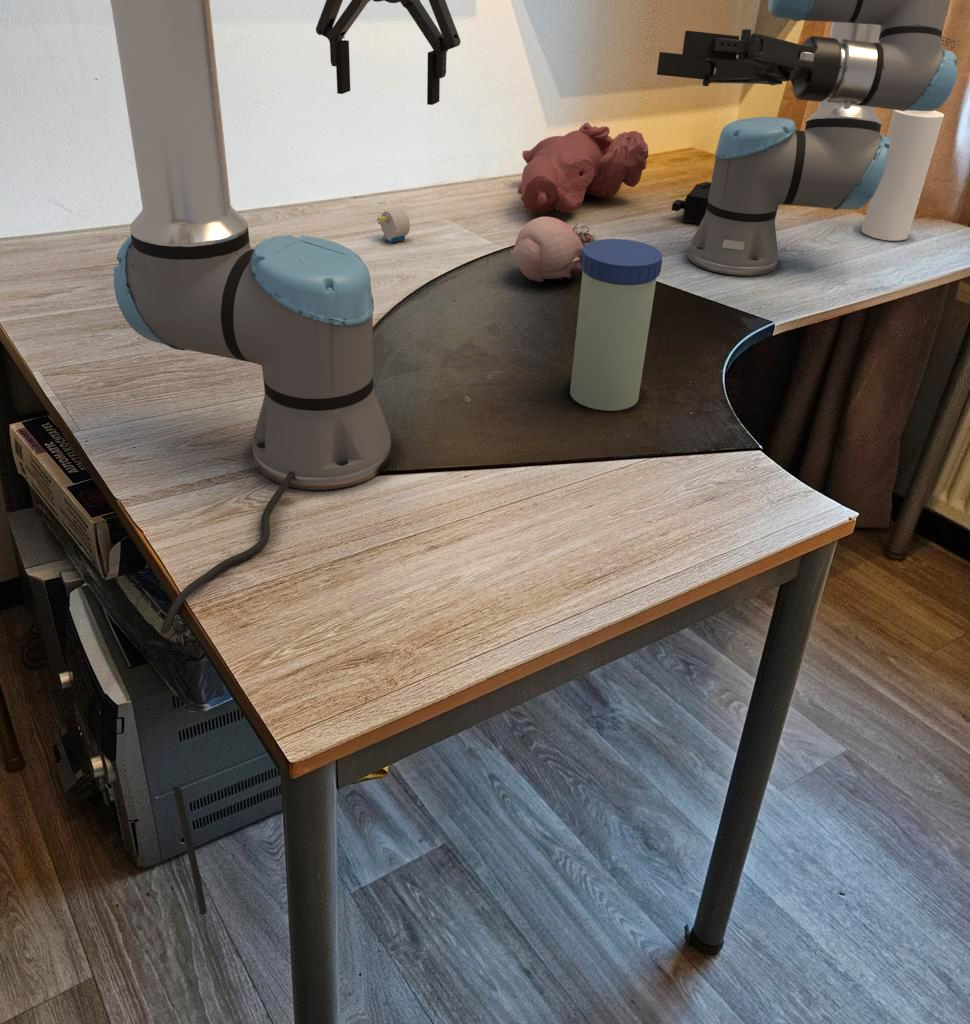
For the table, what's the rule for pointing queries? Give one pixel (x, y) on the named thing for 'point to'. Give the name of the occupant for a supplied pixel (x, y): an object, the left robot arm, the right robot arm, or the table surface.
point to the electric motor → (394, 225)
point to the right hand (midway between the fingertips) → (670, 53)
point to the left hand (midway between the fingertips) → (388, 97)
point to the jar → (610, 343)
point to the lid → (621, 261)
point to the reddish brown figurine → (580, 168)
